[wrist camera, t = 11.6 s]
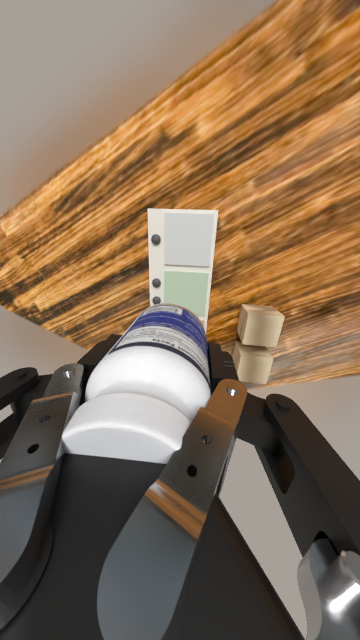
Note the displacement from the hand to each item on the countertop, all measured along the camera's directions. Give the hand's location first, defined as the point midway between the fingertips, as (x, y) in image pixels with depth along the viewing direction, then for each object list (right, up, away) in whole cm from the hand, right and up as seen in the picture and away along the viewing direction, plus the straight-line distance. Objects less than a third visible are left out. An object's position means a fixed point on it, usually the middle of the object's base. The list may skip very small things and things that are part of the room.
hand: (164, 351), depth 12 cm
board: (+1, +7, +19) cm, 20 cm away
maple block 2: (+14, -4, +22) cm, 26 cm away
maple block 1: (+14, +2, +19) cm, 24 cm away
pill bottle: (0, +1, +2) cm, 3 cm away
